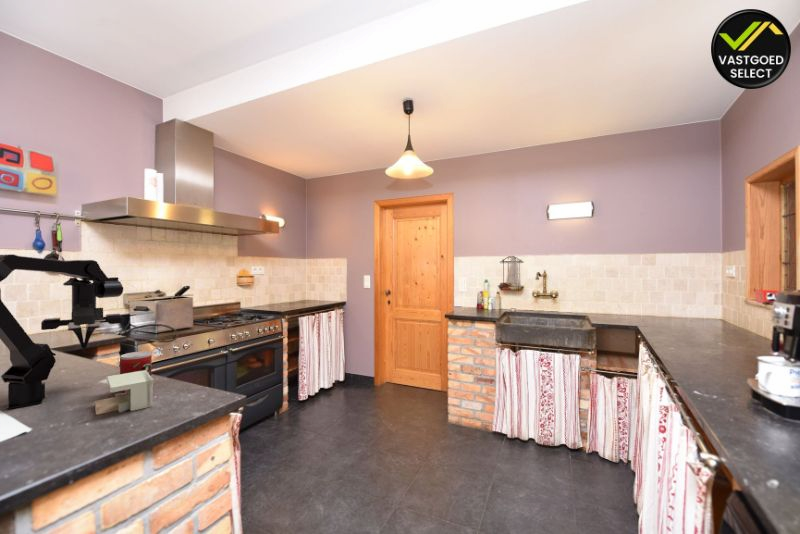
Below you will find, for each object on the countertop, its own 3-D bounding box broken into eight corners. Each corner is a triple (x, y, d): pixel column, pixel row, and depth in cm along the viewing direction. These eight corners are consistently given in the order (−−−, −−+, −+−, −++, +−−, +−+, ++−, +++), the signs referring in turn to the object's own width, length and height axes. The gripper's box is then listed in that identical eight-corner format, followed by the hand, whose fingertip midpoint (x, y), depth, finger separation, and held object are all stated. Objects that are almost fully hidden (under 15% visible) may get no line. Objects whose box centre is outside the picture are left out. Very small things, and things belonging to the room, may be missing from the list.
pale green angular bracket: (110, 415, 87) (111, 387, 87) (107, 401, 96) (107, 376, 96) (153, 405, 93) (153, 380, 93) (145, 393, 103) (145, 370, 103)
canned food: (134, 395, 101) (134, 357, 101) (112, 393, 103) (112, 356, 103) (158, 386, 109) (158, 351, 109) (137, 385, 110) (137, 350, 110)
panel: (96, 416, 88) (96, 407, 88) (94, 409, 92) (95, 400, 92) (144, 405, 95) (144, 397, 95) (141, 399, 99) (141, 391, 99)
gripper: (40, 303, 97) (39, 358, 97) (124, 299, 110) (124, 347, 110) (42, 300, 105) (42, 351, 105) (120, 297, 118) (120, 342, 118)
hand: (84, 348), depth 109 cm, fingers closed
